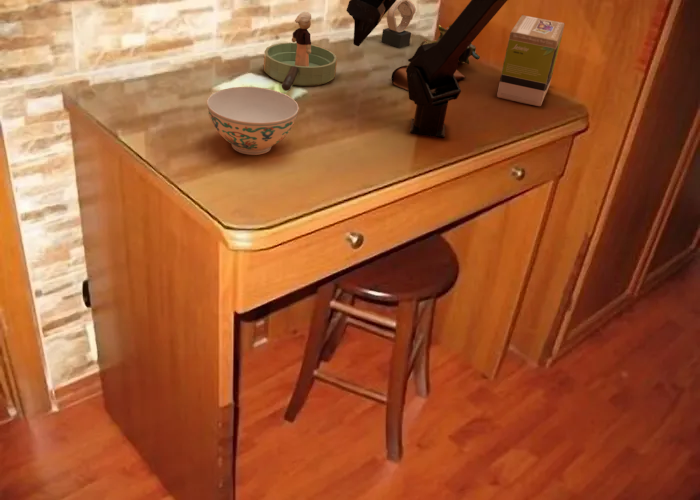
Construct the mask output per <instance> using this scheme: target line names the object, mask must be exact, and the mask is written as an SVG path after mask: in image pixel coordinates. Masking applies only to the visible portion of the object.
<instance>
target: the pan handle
mask: <svg viewBox="0 0 700 500" xmlns="http://www.w3.org/2000/svg"><path fill="white" fill-rule="evenodd" d="M298 72H299V69H298V68H297V67H296V66H292V67H291V68H290V70H289V72H288V74H287V76H286V78H285V80H284V81H283V82H281V90H283V91H285V92H289V91H290V90H291V88H292V87H293V86H294V85H293V83H294V80H295V78H296V76H297V74H298Z"/></svg>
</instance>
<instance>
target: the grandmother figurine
mask: <svg viewBox="0 0 700 500" xmlns="http://www.w3.org/2000/svg"><path fill="white" fill-rule="evenodd" d="M311 21H312V14H311V13H310V12H309V11H302V12H301V13H299V14H298V15H297V16H296V18H295V19H294V22H295V23H296V24H298V28H296V29H295V30H294V31H293V32H292V38H291V43H297V50H296V61H295V65H296V66H309V56H308V54H310V53H311V44H312V40H311V33H310V31H309V29H310V27H311V25H312V22H311Z"/></svg>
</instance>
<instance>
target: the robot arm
mask: <svg viewBox="0 0 700 500" xmlns="http://www.w3.org/2000/svg"><path fill="white" fill-rule="evenodd" d="M508 1H509V0H470V1H469V2H468V4H466V6H465V7H464V8H463V10H462V11H461V12H460V13H459V15H458V16H457V17H456V18H455V20H454V21H453V22H452V24H450V25H451V26H450V27H449V26H448V29H447V31H446V32H445V34H444V35H443V36H442V37H441V39H440V40H439V41H438V42H434V43H432V42H431V43H430V42H428V43H429V44H428V43H424V44H423V45H419V47H418V48H416V50H415V52H414V53H413V55H412V57H410V58H408V59H407V61H408V62H409V63H408V64H407V65H408V66H407V69H406V73H407V83H408V91H407V92H408V99H409V100H411V101H413V103H414V104H415V112H414V117H413V118H411V119H410V130H409V133H410V134H411V135H417V136H423V137H432V138H436V139H437V138H438V139H445V137H446V124H445V120H446V116H447V111H448V105H449V102H450V101H453V100H457V99H458V97H459V96H460V94H461V93H462V90H461V87H460V85H459V83H458V81H457V80H456V78H455V76H454V73H455V71H456V70H458V67H459V61H458V60H459V57H460V55H461V54H462V53H463V52H464V51H465V50H466V48H467V47H468V46H469V45H470V44H471V43H472V44H473V42H474V40H475V39H476V38H477V37H478V36H479V35H480V34H481V32H482V31H483V30H484V29H485V28H486V26H488V24H489V23H490V22H491V20H492V19H494V17H495V16H496V14H498V12H499V11H500V10H501V9H502V8H503V6H504V5H505V4H506V3H507V2H508ZM395 2H396V0H349V1H348V4H347V7H346V12H347V13H348V15H349V16H350V17H352V19H353V20H354V21H353V23H354V24H353V26H354V27H353V43H352V44H353V45H354V46H356V47H360V46H361V44H362V43H363V42H365V40H366V38H368V36H370V35H371V33H372V32H373V31H374V30H375V29H376V27H377V26H378V25H379V24H380V23H381V21H382V19H383V17H384V16H385V14H387V13H388V10H389V9H390V8H391V6H392V5H393V4H394V3H395ZM433 88H434V89H433Z"/></svg>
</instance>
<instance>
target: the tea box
mask: <svg viewBox="0 0 700 500" xmlns="http://www.w3.org/2000/svg"><path fill="white" fill-rule="evenodd" d="M564 28H565V22H562V21H556V20H550V19H545V18H539V17H534V16H529V15H525V14H522V15H521V16H519V19H518V21H516V23H515V25H514V26H513V28H512V29H511V31H510V32H509V33H510V34H509V37H508V42H507V46H506V50H505V56H504V60H503V63H502V64H503V65H502V68H501V73H500V78H499V83H498V89H497V92H496V97H497V98H499V99H503V100H508V101H512V102H517V103H521V104H525V105H530V106H535V107H541V106H542V104H543V101H544V99H545V97H546V95H547V93H548V90H549V88H550V85H551V82H552V77H553V73H554V69H555V65H556V62H557V58H558V54H559V50H560V46H561V42H562V38H563V34H564Z"/></svg>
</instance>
